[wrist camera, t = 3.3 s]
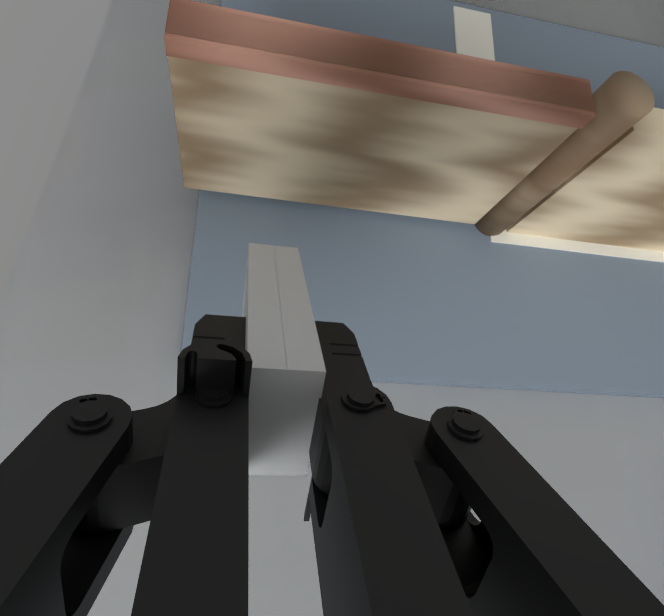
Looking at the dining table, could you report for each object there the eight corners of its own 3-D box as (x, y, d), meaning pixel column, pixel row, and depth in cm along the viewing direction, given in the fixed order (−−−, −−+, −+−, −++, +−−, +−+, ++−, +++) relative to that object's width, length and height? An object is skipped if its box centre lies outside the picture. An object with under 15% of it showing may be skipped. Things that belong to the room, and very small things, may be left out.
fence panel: (472, 200, 25) (589, 79, 17) (474, 226, 25) (595, 115, 17) (187, 161, 22) (170, -4, 14) (184, 190, 22) (164, 36, 14)
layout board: (660, 60, 34) (673, 48, 33) (735, 401, 27) (756, 399, 26) (226, -32, 28) (226, -51, 27) (180, 370, 21) (178, 365, 20)
